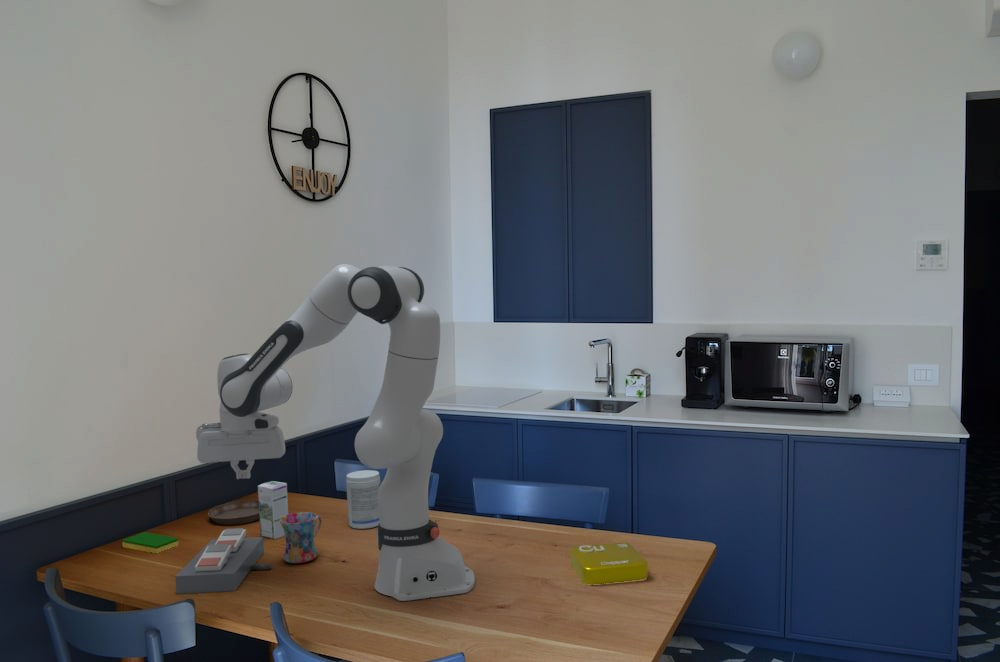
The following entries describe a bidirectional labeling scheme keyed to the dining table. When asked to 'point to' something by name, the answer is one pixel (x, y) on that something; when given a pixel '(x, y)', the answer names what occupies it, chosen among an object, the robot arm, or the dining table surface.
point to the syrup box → (272, 508)
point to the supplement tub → (363, 498)
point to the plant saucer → (236, 512)
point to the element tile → (608, 563)
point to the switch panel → (229, 573)
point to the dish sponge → (150, 542)
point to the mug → (300, 536)
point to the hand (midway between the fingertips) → (243, 478)
